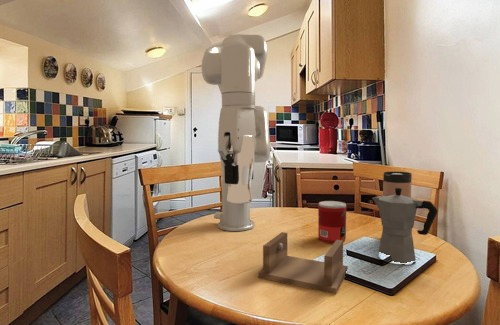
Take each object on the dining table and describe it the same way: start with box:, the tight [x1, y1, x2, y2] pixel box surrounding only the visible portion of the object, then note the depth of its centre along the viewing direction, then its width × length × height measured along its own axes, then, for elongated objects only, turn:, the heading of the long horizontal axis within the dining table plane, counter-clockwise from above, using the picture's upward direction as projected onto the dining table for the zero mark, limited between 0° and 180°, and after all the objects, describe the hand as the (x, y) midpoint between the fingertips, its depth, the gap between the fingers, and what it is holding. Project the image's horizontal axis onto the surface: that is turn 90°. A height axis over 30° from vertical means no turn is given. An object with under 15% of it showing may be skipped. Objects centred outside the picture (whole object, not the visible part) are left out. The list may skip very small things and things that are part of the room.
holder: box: [257, 231, 349, 295], centre depth 71 cm, size 17×12×7 cm
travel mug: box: [382, 171, 413, 198], centre depth 94 cm, size 8×8×20 cm
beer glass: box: [227, 136, 255, 204], centre depth 73 cm, size 7×7×15 cm
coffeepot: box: [371, 188, 438, 263], centre depth 79 cm, size 15×9×18 cm, turn 43°
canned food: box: [317, 200, 347, 244], centre depth 95 cm, size 8×8×11 cm
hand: (239, 180), depth 73 cm, fingers closed on beer glass, 6 cm apart
